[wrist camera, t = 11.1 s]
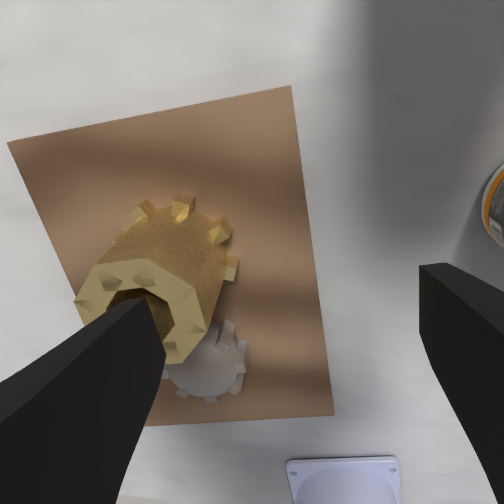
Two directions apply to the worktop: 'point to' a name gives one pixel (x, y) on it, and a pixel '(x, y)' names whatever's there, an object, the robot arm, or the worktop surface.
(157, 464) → the worktop surface
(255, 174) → the carrier plate
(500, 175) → the pill bottle
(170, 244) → the gear
